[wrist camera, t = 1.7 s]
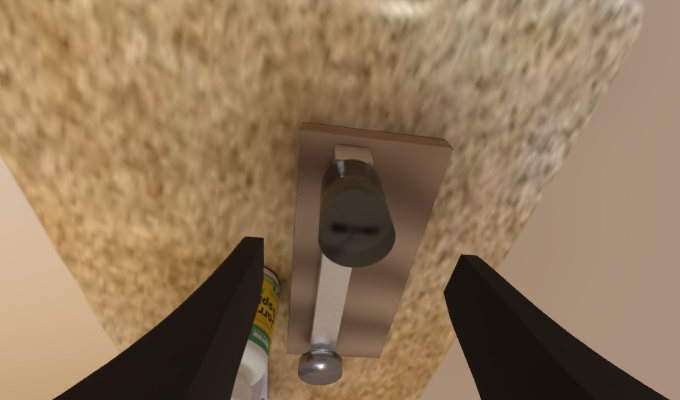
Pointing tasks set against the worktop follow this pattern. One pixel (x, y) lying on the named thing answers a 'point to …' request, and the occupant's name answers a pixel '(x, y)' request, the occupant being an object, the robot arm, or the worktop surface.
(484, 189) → the worktop surface
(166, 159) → the worktop surface
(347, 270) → the lever
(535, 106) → the worktop surface
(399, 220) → the base board
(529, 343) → the robot arm
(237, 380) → the supplement bottle
